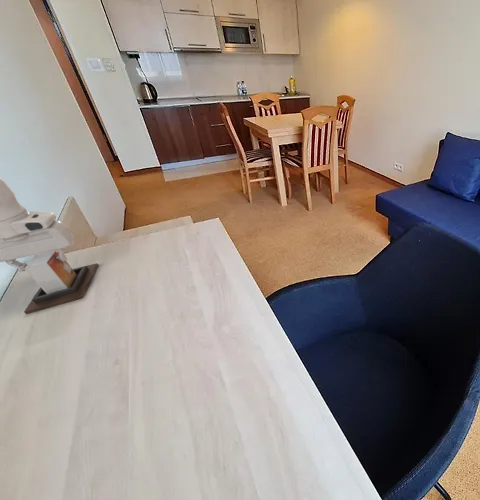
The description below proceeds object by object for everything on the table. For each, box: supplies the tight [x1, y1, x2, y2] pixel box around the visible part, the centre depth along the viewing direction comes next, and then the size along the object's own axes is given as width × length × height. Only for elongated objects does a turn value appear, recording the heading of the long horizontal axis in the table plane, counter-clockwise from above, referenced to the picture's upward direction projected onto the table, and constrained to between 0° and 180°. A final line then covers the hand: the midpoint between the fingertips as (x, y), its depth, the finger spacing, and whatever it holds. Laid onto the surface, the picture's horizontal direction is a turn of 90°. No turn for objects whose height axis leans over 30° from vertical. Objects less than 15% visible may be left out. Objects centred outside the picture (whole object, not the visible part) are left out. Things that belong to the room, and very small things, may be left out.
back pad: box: [23, 262, 100, 315], centre depth 94 cm, size 14×18×2 cm
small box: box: [24, 250, 77, 294], centre depth 91 cm, size 8×6×10 cm
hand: (44, 265), depth 90 cm, fingers open, 8 cm apart
